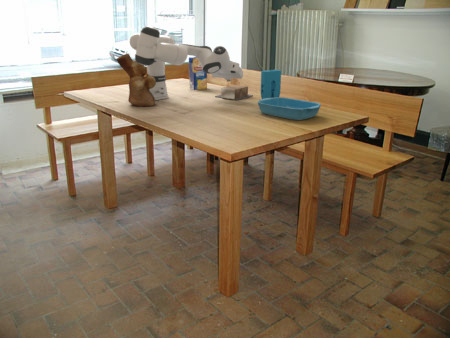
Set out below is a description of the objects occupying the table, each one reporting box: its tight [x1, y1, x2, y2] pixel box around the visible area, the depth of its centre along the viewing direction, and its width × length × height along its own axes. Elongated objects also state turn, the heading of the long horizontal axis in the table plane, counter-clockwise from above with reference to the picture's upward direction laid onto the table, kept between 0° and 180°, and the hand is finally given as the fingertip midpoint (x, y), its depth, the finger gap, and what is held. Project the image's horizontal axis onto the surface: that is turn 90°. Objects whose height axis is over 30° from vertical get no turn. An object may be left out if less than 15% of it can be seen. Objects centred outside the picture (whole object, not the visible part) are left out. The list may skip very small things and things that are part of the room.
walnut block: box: [220, 84, 249, 100], centre depth 295 cm, size 6×10×16 cm
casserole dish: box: [257, 96, 322, 121], centre depth 247 cm, size 37×22×7 cm, turn 44°
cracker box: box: [188, 56, 208, 91], centre depth 326 cm, size 7×11×22 cm, turn 122°
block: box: [260, 69, 282, 99], centre depth 272 cm, size 12×5×20 cm, turn 120°
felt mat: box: [214, 94, 254, 101], centre depth 298 cm, size 18×18×1 cm
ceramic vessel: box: [116, 53, 156, 107], centre depth 267 cm, size 16×22×30 cm
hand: (229, 80), depth 293 cm, fingers closed
